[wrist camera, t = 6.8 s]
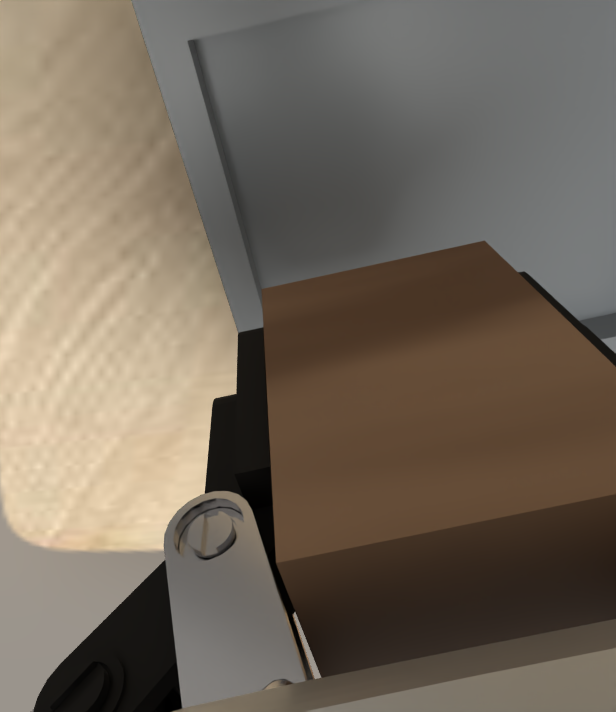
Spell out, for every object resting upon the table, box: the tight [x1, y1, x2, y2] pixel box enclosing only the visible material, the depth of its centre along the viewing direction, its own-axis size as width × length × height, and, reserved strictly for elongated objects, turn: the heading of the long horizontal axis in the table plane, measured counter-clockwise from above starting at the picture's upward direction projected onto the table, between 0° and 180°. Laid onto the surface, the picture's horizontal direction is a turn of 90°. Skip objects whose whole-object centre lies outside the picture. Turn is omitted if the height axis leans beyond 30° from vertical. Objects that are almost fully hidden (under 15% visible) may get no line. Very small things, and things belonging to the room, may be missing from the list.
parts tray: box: [131, 0, 616, 353], centre depth 16 cm, size 14×16×2 cm
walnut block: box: [261, 241, 616, 678], centre depth 9 cm, size 4×4×6 cm
